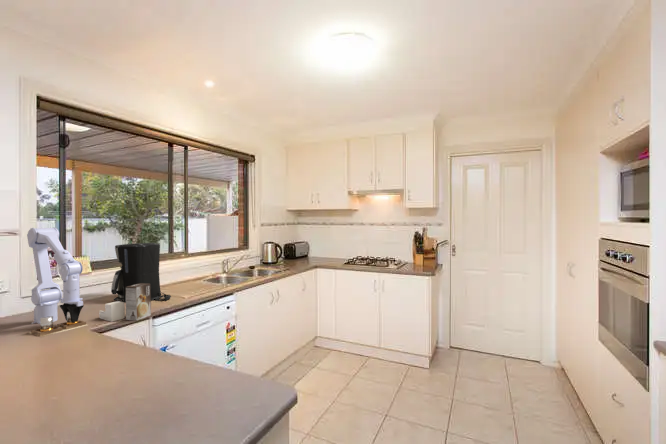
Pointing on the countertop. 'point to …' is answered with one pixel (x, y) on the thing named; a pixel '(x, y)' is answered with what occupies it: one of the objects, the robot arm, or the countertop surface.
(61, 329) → the seat board
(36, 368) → the countertop surface
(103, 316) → the feeder
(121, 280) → the coffee maker
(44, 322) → the sleeve
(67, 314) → the sleeve
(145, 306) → the coffee box
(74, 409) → the countertop surface
